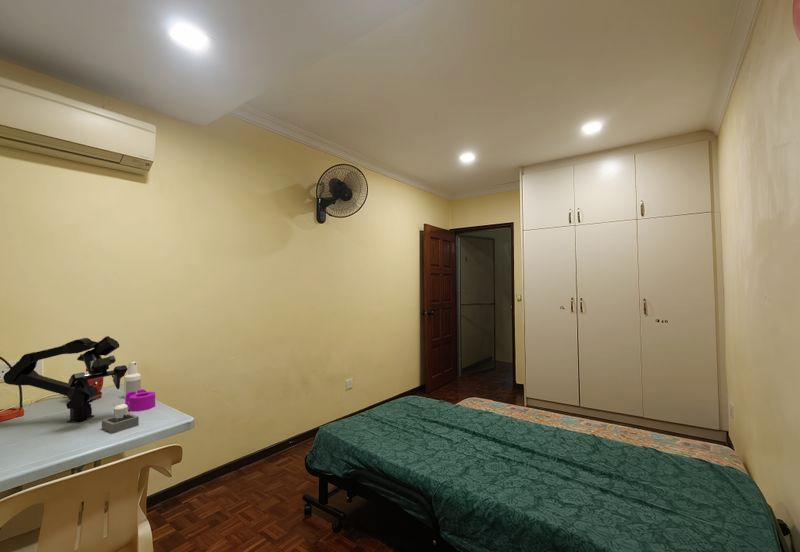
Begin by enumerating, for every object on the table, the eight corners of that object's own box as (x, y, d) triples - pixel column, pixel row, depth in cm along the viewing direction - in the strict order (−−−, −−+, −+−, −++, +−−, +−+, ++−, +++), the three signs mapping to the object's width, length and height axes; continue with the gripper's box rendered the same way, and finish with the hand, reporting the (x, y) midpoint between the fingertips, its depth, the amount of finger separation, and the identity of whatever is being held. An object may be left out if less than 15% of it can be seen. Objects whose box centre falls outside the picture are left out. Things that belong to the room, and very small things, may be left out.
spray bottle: (131, 399, 177) (131, 363, 177) (120, 398, 178) (120, 363, 178) (143, 395, 183) (144, 361, 184) (133, 394, 185) (133, 360, 185)
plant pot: (82, 395, 183) (82, 373, 183) (109, 394, 185) (109, 372, 185) (61, 404, 170) (61, 379, 170) (90, 403, 172) (90, 378, 172)
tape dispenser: (158, 407, 166) (158, 394, 166) (132, 413, 158) (132, 399, 158) (147, 400, 176) (147, 388, 176) (123, 405, 168) (123, 392, 168)
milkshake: (116, 425, 144) (116, 401, 145) (130, 424, 145) (130, 400, 145) (108, 429, 140) (108, 404, 140) (122, 429, 140) (122, 404, 141)
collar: (101, 429, 141) (101, 420, 141) (127, 421, 149) (127, 412, 149) (112, 433, 136) (112, 424, 136) (138, 425, 144) (138, 416, 144)
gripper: (71, 354, 140) (83, 385, 135) (125, 346, 157) (138, 374, 151) (63, 371, 144) (74, 402, 138) (117, 362, 160) (129, 390, 155)
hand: (105, 391), depth 146 cm, fingers open, 9 cm apart
